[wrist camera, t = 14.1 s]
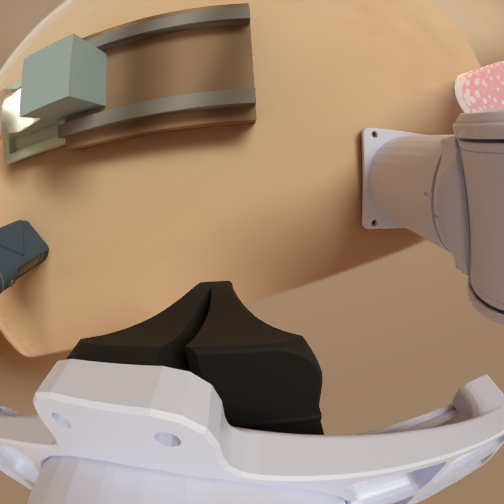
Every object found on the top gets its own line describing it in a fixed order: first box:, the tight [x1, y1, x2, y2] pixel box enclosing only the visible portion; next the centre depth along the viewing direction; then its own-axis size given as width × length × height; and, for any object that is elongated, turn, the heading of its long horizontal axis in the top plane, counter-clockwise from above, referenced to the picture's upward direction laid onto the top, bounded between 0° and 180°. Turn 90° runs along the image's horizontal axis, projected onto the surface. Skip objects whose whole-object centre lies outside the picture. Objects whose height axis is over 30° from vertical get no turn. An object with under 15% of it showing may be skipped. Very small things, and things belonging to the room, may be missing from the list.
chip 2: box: [18, 88, 60, 132], centre depth 15 cm, size 4×4×2 cm
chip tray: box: [4, 79, 66, 165], centre depth 17 cm, size 9×8×1 cm
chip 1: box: [0, 89, 35, 141], centre depth 15 cm, size 4×4×2 cm
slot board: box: [58, 3, 256, 150], centre depth 16 cm, size 14×10×3 cm, turn 93°
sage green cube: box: [20, 34, 107, 120], centre depth 13 cm, size 4×4×5 cm
